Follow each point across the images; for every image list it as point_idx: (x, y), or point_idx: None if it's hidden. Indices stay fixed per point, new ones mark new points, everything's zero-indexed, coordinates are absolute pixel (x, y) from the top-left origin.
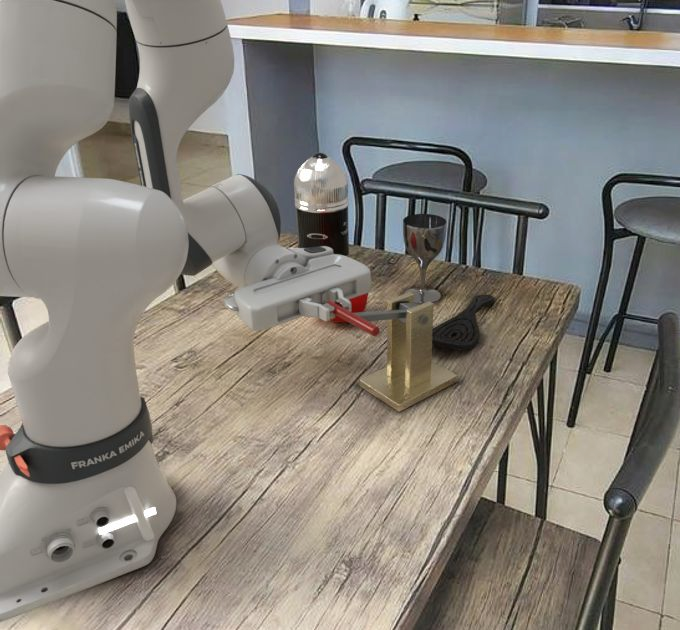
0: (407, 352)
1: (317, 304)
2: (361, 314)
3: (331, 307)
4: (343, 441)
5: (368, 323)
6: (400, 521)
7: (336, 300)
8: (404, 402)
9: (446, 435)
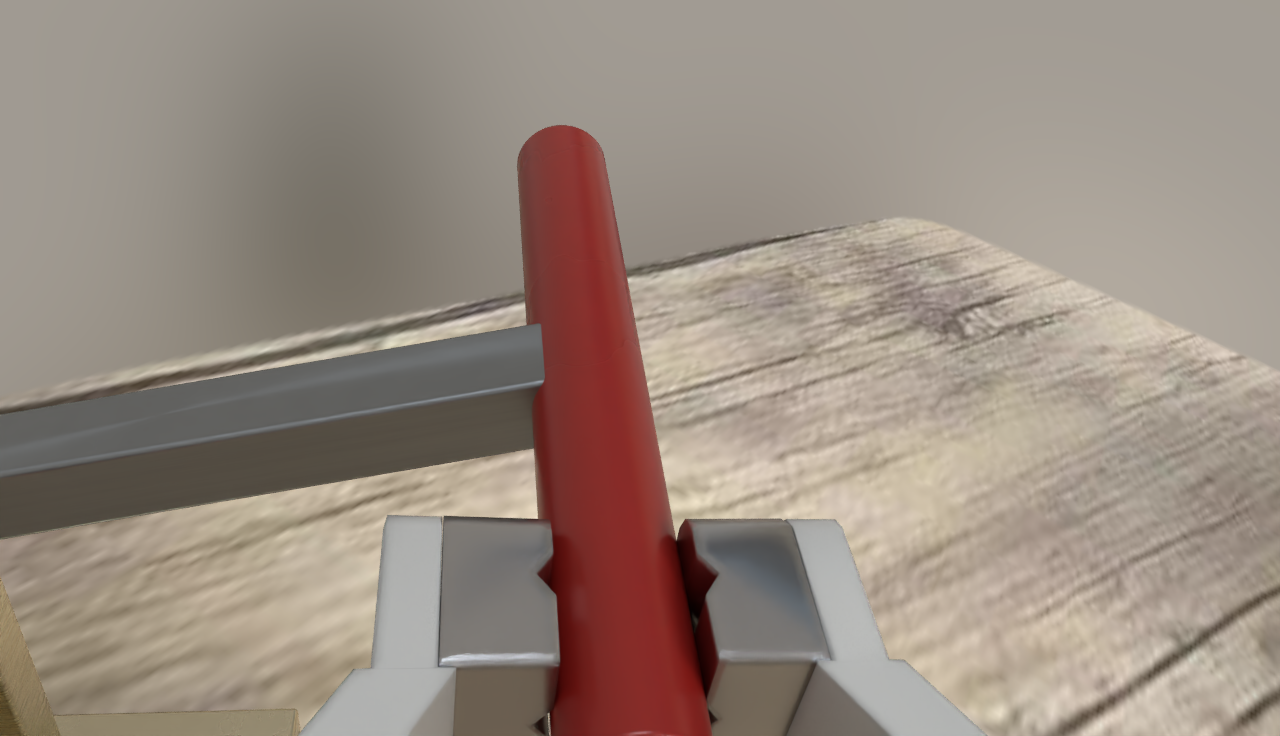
0: (8, 642)
1: (887, 697)
2: (458, 347)
3: (732, 522)
4: None
5: (576, 170)
6: (755, 333)
7: (544, 639)
8: (247, 711)
9: None
